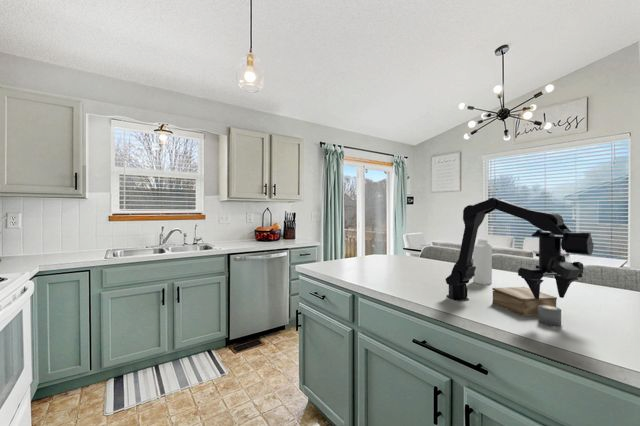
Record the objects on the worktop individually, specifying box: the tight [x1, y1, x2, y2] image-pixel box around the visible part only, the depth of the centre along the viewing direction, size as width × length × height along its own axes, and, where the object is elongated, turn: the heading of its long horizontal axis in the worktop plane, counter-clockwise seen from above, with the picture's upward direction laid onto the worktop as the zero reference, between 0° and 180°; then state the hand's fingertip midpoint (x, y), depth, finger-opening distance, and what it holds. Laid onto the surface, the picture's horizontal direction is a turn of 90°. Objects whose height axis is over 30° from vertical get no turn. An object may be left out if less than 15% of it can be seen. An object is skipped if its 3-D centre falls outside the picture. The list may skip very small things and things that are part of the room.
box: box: [492, 290, 557, 317], centre depth 111 cm, size 14×14×5 cm
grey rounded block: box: [537, 305, 562, 328], centre depth 97 cm, size 6×6×5 cm
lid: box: [492, 286, 558, 301], centre depth 111 cm, size 14×14×1 cm
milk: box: [472, 238, 493, 286], centre depth 149 cm, size 6×6×22 cm
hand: (549, 298), depth 97 cm, fingers open, 9 cm apart
